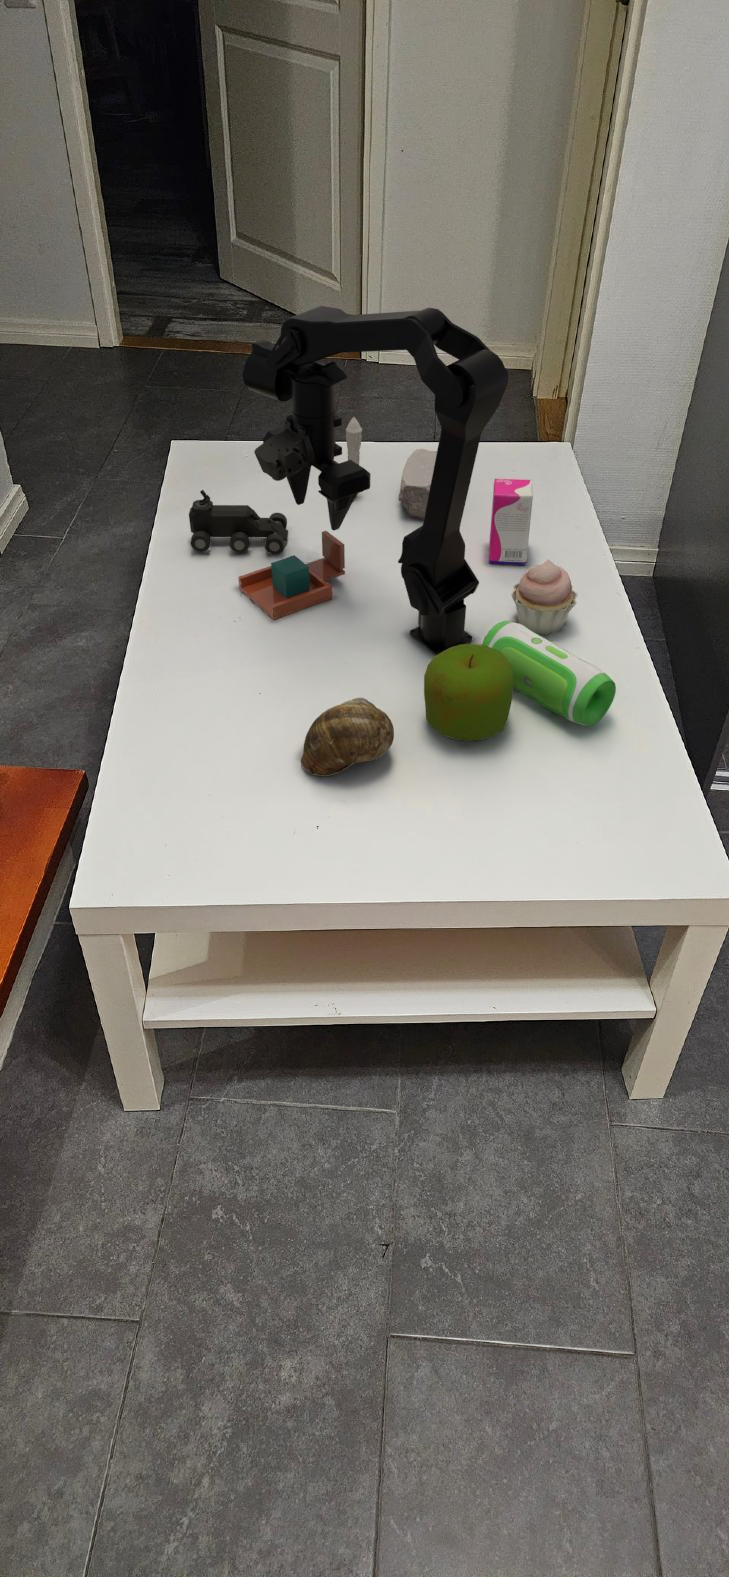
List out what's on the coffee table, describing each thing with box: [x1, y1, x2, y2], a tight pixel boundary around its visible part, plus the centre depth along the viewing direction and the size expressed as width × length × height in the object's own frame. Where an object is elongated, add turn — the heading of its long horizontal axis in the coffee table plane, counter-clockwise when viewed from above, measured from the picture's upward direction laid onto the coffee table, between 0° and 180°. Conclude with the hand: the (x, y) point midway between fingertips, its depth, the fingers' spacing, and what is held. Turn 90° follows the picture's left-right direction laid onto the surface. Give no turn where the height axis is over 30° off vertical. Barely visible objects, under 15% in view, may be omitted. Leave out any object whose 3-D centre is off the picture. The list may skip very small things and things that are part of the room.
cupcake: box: [510, 559, 579, 635], centre depth 149 cm, size 9×9×10 cm
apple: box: [423, 643, 515, 742], centre depth 132 cm, size 11×11×11 cm
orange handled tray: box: [237, 530, 346, 621], centre depth 157 cm, size 10×14×6 cm
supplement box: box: [488, 478, 534, 566], centre depth 163 cm, size 6×6×12 cm
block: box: [270, 554, 310, 598], centre depth 157 cm, size 4×4×4 cm
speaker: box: [481, 620, 617, 727], centre depth 138 cm, size 18×7×8 cm, turn 42°
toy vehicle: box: [188, 489, 289, 556], centre depth 167 cm, size 8×15×9 cm, turn 90°
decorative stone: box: [398, 448, 437, 520], centre depth 177 cm, size 15×7×10 cm
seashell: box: [300, 697, 395, 777], centre depth 128 cm, size 11×9×8 cm
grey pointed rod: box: [345, 416, 363, 499], centre depth 176 cm, size 2×3×14 cm
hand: (317, 516), depth 154 cm, fingers open, 9 cm apart
